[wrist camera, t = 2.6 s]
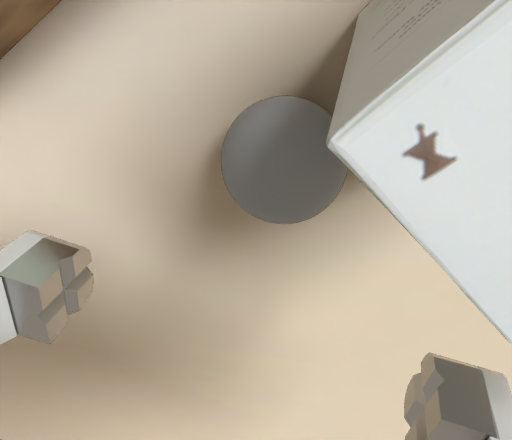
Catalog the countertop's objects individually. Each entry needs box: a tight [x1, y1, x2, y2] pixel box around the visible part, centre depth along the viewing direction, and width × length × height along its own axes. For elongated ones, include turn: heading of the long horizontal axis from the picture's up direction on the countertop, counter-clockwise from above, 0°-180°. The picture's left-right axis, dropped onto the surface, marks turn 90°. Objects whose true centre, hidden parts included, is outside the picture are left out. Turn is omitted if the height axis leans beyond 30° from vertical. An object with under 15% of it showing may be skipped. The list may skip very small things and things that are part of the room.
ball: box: [221, 96, 348, 224], centre depth 16 cm, size 5×5×5 cm
